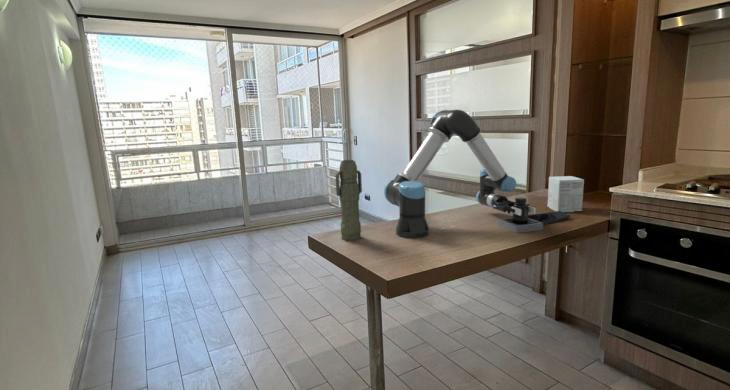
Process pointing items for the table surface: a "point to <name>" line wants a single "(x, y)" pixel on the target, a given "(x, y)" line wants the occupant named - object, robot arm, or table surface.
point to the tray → (530, 226)
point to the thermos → (349, 199)
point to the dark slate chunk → (549, 217)
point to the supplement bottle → (523, 206)
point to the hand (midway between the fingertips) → (527, 211)
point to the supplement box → (565, 193)
